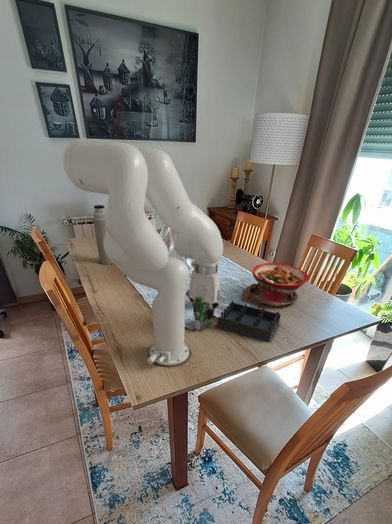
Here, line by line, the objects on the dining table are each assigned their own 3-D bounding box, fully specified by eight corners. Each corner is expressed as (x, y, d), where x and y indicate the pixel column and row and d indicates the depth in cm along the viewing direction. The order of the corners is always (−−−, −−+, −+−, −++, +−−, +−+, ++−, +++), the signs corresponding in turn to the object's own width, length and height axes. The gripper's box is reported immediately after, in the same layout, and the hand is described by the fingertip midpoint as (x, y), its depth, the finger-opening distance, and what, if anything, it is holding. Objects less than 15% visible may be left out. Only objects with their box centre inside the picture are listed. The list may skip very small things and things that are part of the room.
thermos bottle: (116, 259, 161) (109, 204, 144) (112, 264, 155) (105, 207, 138) (102, 258, 161) (93, 203, 144) (97, 264, 154) (88, 206, 138)
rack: (278, 323, 111) (281, 310, 108) (269, 341, 101) (272, 328, 98) (230, 311, 118) (231, 298, 115) (217, 326, 108) (218, 313, 104)
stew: (267, 318, 114) (275, 280, 105) (230, 294, 130) (234, 259, 121) (313, 302, 127) (324, 267, 117) (274, 283, 143) (281, 250, 133)
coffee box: (200, 331, 105) (201, 299, 97) (193, 329, 106) (194, 296, 98) (211, 322, 110) (214, 291, 102) (205, 320, 111) (207, 288, 104)
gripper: (178, 266, 95) (178, 314, 106) (225, 276, 89) (220, 326, 100) (188, 259, 100) (187, 306, 111) (234, 269, 95) (228, 317, 105)
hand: (203, 315), depth 105 cm, fingers open, 4 cm apart
